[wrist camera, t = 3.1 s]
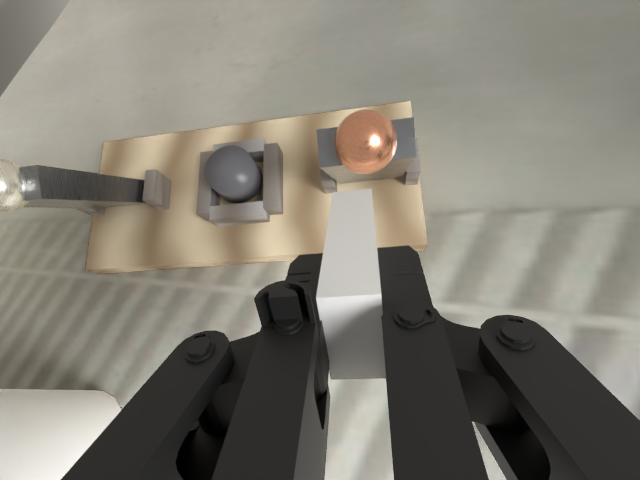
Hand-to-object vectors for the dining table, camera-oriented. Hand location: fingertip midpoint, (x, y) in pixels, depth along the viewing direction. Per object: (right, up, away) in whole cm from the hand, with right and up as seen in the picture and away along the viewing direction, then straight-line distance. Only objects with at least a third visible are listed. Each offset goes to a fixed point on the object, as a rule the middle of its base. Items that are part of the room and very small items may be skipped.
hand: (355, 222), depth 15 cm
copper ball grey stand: (+3, +5, +15) cm, 16 cm away
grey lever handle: (-19, +3, +19) cm, 27 cm away
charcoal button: (-8, +4, +17) cm, 19 cm away
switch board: (-8, +3, +20) cm, 22 cm away
